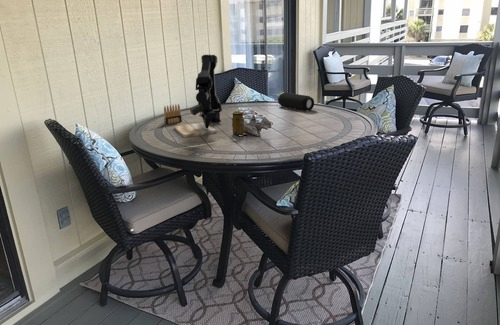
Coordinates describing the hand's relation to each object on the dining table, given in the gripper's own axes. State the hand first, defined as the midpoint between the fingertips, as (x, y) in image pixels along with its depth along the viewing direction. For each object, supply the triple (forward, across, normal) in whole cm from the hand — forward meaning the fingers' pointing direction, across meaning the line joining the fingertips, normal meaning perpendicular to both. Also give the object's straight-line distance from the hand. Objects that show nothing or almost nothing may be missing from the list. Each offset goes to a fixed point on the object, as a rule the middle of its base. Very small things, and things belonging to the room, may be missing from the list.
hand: (206, 128), depth 221 cm
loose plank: (+2, -5, -1) cm, 5 cm away
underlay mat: (+3, -5, -6) cm, 8 cm away
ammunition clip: (+3, -30, -10) cm, 32 cm away
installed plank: (+2, -5, -10) cm, 11 cm away
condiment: (+3, +12, +14) cm, 18 cm away
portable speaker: (+3, -28, +74) cm, 79 cm away
